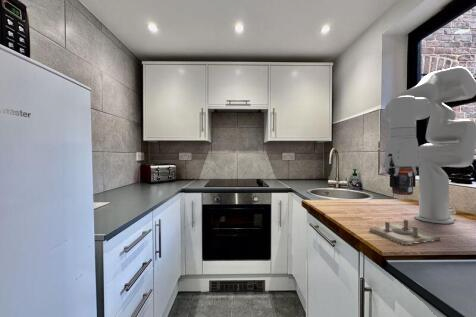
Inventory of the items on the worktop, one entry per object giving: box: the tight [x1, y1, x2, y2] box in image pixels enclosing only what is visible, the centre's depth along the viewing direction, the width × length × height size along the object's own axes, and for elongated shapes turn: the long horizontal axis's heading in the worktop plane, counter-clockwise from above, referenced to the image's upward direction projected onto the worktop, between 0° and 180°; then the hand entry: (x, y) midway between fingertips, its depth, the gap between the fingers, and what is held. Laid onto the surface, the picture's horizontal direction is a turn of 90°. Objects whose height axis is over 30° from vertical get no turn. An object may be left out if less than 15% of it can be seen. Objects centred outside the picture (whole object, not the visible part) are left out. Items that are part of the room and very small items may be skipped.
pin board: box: [369, 219, 441, 245], centre depth 82 cm, size 14×14×4 cm
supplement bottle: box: [391, 166, 414, 196], centre depth 82 cm, size 6×6×11 cm
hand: (402, 186), depth 82 cm, fingers closed on supplement bottle, 5 cm apart
